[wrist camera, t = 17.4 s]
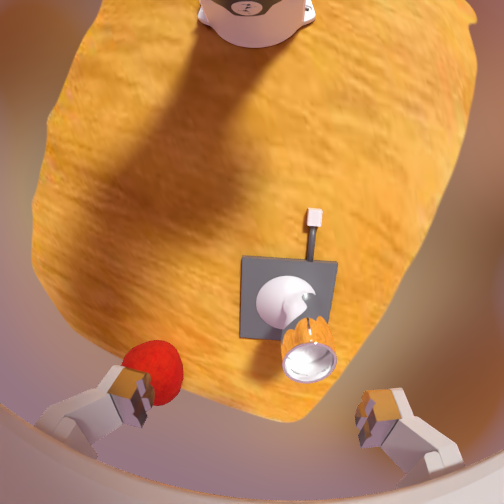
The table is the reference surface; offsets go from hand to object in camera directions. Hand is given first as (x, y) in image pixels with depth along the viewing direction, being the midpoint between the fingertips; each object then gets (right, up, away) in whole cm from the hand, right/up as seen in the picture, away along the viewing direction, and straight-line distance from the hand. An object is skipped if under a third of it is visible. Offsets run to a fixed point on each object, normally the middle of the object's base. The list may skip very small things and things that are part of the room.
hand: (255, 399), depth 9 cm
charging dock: (+6, +1, +36) cm, 36 cm away
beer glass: (+8, -3, +36) cm, 37 cm away
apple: (-18, -14, +43) cm, 49 cm away
